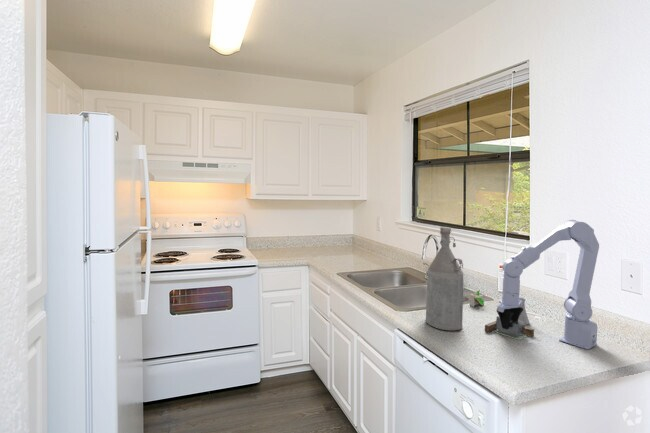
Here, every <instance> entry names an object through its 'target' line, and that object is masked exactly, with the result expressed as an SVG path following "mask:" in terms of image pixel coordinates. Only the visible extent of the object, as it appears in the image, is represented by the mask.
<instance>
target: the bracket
mask: <svg viewBox="0 0 650 433" xmlns="http://www.w3.org/2000/svg"><path fill="white" fill-rule="evenodd" d="M495 321H496V325H495V329H496V331H497V330H499V331H501V332H504V333H506V334H508V335H511V336H513V337H515V338H518V337H520V336H523V335H524V328H525V327H526V325H525V322H522V321H520V320H518V321H513V320H510V325H509V329H508V330H507V329H504V328H502V325H501V320H500V317H499V315H498V316H496V320H495Z"/></svg>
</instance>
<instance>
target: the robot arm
mask: <svg viewBox="0 0 650 433" xmlns="http://www.w3.org/2000/svg"><path fill="white" fill-rule="evenodd" d="M571 240H573V242H575V243H576V244H577V246H579V247H580V250H579V255H578V260H577V264H576V268H575V269H576V270H575V274H574V280H573V284H572V289H571V290H570V291H569V293H568V295H567V298H566V299H565V300H564V301H563V308H564V310H566V313H565V315H564V329H563V330H564V332H563V337H561V338H559V341H560V342H563V343H564V344H569V345H571V346H575V347H579V348H582V349H586V350H590V349H592V348H594V347H595V346H597V345H598V343H597V340H598V339H597V338H598V324H597V322H595V321H591V320H590V319H591V318H592V316H593V309H592V299H591V295H590V293H591V288H592V285H593V284H592V283H593V279H594V274H595V270H596V264H597V260H598V259H597V258H598V256H599V255H598V254H599V250H600V243H599V241H598V239H597V237H596V234H595V229H594V228H592V226H591V225H589V224H588V223H587V222H585V221H578V220H575V219H569V220H566V221H565V222H564V223H563V224H560V225H558V226H557V227H556V228H554V230H552V231H551V232H550V233H549V234H547V235H546V236H545V237H544V238H542V239H541V240H540V241H538V242H537V243H536V244H535V245H533V246H529V245H527V246H526V247H525V246H523V247H522V248H521V251H519V252H518V253H517V254H515V255H511V256H510V259H506V260H504V262H503V264H502V266H501V269H502V270H503V278H502V294H501V296H502V297H501V298H502V299H500V300H499V301H498V303H499V305H497V307H496V313H497V314H498V316H499V317H500V320H501V325H502V328H504V329H507V330H508V329H509V325H510V320H513V321H518V319H519V316H520V314H521V313H522V311H523V308H521V307H519V306H522V300H519V298H520V286H521V280H520V279H521V275H522V274H523V271H524V270H525V269H527V268H528V267H530V266H531V265H532V264H534V263H535V262H537V261H538V260H540V258H541V257H540V256H541V253H543V252H546V250H548V249H549V248H551V247H553V246H554V245H555V244H557V243H559V242H560V241H561V242H562V241H571Z"/></svg>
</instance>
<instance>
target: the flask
mask: <svg viewBox="0 0 650 433" xmlns="http://www.w3.org/2000/svg"><path fill="white" fill-rule="evenodd" d="M519 300H522V306H519V307H521V308H523V311H522V313H521V314H520V316H519V319H518V320H520V321H522V322H525V326H527V325H530V320H529V317H528V313H527V310H526V306H525V305H526V304H525V302H526V298H523V297H519Z"/></svg>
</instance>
